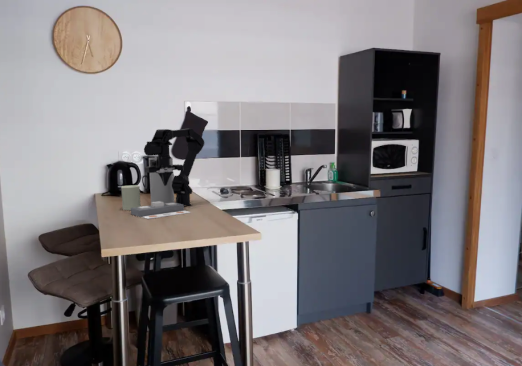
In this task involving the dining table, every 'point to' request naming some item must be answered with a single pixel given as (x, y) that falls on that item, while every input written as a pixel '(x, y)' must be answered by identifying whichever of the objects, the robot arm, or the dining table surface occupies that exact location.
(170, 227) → the dining table surface
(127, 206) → the can
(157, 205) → the button middle
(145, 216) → the pattern card
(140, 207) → the button
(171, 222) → the dining table surface
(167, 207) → the button board
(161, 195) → the cylinder vase
